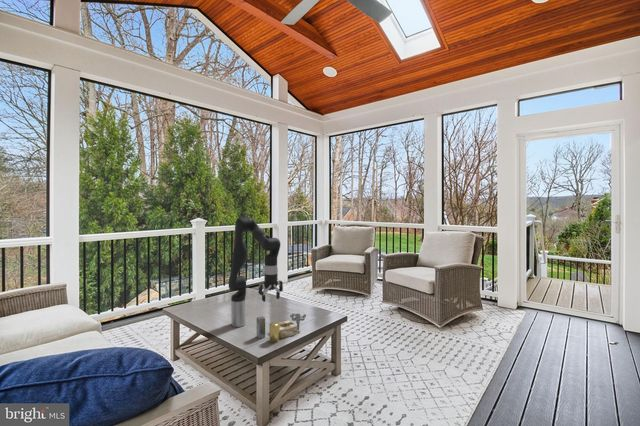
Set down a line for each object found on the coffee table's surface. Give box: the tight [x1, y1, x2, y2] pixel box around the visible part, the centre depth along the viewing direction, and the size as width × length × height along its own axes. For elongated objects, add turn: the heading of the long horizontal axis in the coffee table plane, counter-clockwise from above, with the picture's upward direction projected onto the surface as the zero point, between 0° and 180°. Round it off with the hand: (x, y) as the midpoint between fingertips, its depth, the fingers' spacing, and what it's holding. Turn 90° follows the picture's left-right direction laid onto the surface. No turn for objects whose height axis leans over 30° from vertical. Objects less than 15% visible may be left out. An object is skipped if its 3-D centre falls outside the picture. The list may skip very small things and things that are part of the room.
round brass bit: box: [269, 321, 281, 343], centre depth 193 cm, size 6×6×10 cm
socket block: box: [278, 319, 298, 340], centre depth 203 cm, size 12×12×5 cm
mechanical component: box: [289, 313, 307, 331], centre depth 209 cm, size 3×10×10 cm, turn 94°
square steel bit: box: [256, 316, 266, 339], centre depth 197 cm, size 4×4×12 cm
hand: (270, 300), depth 184 cm, fingers open, 8 cm apart
